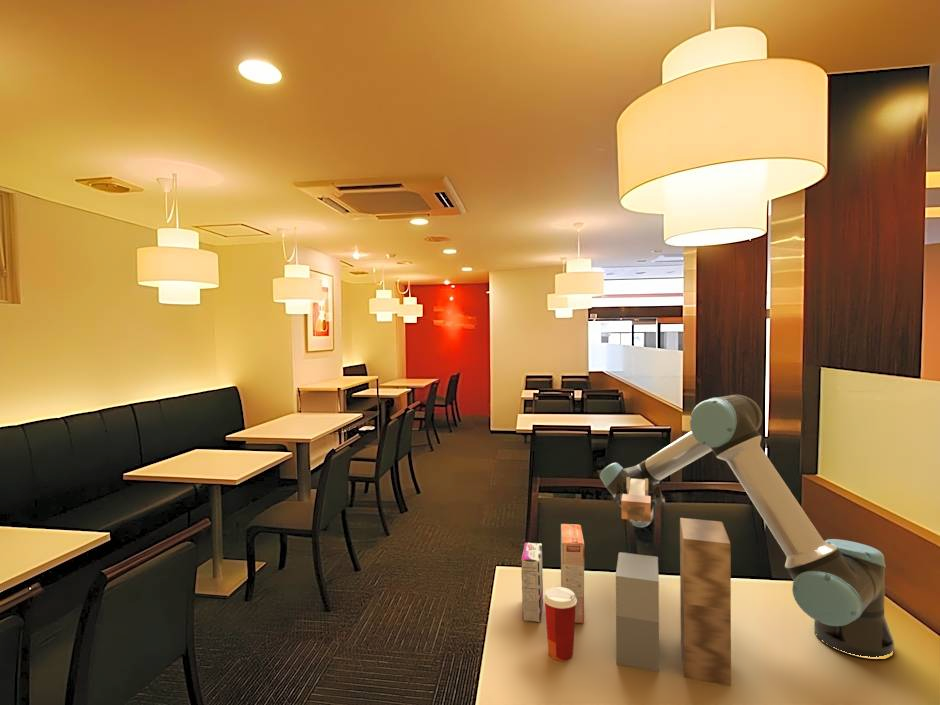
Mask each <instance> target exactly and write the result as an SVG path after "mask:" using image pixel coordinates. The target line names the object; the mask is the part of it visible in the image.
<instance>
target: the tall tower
mask: <svg viewBox="0 0 940 705" xmlns="http://www.w3.org/2000/svg"><path fill="white" fill-rule="evenodd" d="M679 547H680V548H679V560H680V561H679V562H680V563H679V566H680V567H679V573H680V574H679V575H680V576H679V579H680V580H679V584H680V585H679V587H680V589H679V590H680V592H679V593H680V594H679V597H680V600H679V601H680V608H679V610H680V612H679V613H680V647H681V648H680V649H681V650H680V651H681V657H682V658H681V660H682V669H683V676H684V678H688V679H695V680H699V681H704V682H709V683H710V682H711V683H716V684H720V685H726V686H732V627H731V626H732V624H731V623H732V622H731V620H732V616H731V615H732V611H731V610H732V609H731V608H732V605H731V604H732V601H731V600H732V597H731V596H732V594H731V593H732V589H731V588H732V587H731V586H732V585H731V583H732V582H731V580H732V579H731V578H732V576H731V574H732V573H731V572H732V571H731V570H732V569H731V568H732V567H731V562H732V561H731V559H732V558H731V557H732V555H731V552H732V550H731V548H732V547H731V541H730V538H729V535H728V534H727V531H726V528H725V526H724V522H723V521H718V520H709V519H708V520H707V519H697V518H688V517H687V518H685V517H679Z"/></svg>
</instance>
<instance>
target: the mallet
mask: <svg viewBox="0 0 940 705" xmlns="http://www.w3.org/2000/svg"><path fill="white" fill-rule="evenodd" d="M620 508H621V510H620V511H621V512H620V513H621V519H622V520H628V519H629V520H639V521H649V522H651V496H645V480H644V479H631V482H630V490H629V494H622V500H621V507H620ZM629 520H628V521H629ZM651 523H652V522H651Z"/></svg>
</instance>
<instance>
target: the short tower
mask: <svg viewBox="0 0 940 705" xmlns="http://www.w3.org/2000/svg"><path fill="white" fill-rule="evenodd" d="M659 577H660V576H659V557H658V556H655V555H646V554H645V555H644V554H639V553H638V554H637V553H629V552H623V551H622V552H621V551H620V552H618V555H617V563H616V571H615V644H616V645H615V646H616V647H615V648H616V649H615V650H616V651H615V652H616V657H615V658H616V665H620V666H625V667H631V668H635V669H641V670H647V671H651V672H657V673H659V672H660V588H659V587H660V584H659V583H660V578H659Z"/></svg>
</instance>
